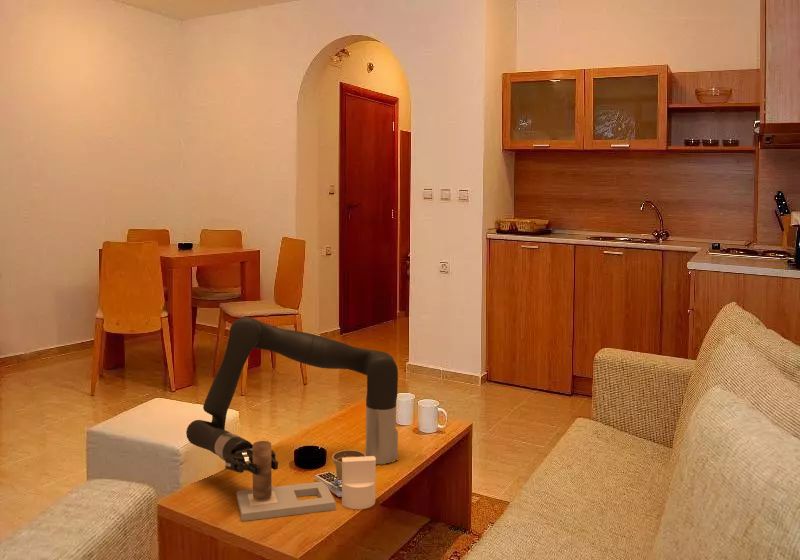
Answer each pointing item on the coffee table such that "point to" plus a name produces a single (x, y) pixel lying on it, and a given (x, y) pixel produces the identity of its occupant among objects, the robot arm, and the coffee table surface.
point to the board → (285, 501)
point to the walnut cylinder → (262, 470)
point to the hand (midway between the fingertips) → (267, 468)
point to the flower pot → (343, 454)
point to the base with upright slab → (358, 482)
